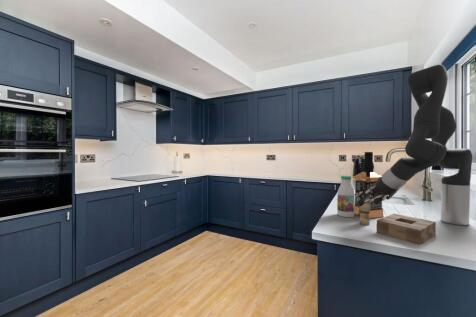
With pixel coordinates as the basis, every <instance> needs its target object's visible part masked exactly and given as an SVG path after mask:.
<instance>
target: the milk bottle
mask: <svg viewBox="0 0 476 317" xmlns="http://www.w3.org/2000/svg"><path fill="white" fill-rule="evenodd" d="M340 180H341V182H340V185H339V187H338V190H337V199H336V200H337V204H336V206H337V210H336V211H337V213H336V214H337V215H338V216H339V217H341V218H354V217H355V214H354V206H355V189H354V188H353V186H352V176H351V175H341V176H340Z"/></svg>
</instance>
